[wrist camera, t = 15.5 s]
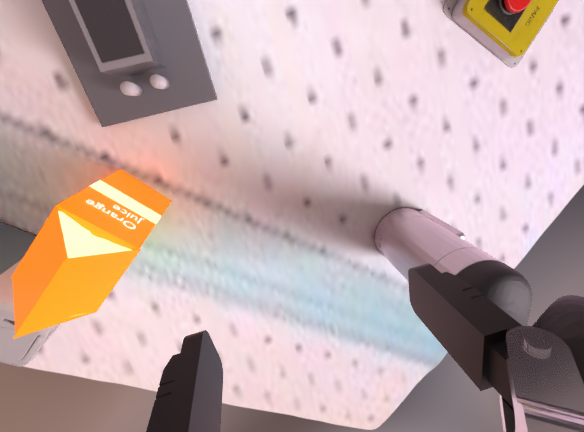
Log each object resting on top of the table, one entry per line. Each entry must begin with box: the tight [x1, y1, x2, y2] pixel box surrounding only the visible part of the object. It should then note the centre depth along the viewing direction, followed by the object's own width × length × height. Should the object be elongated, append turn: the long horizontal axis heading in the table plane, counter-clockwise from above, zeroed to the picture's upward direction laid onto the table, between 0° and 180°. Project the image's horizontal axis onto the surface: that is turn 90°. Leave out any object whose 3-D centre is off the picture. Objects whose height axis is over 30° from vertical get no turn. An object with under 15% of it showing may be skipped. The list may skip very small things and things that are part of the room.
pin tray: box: [42, 0, 217, 127], centre depth 30 cm, size 14×18×4 cm
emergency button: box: [443, 0, 559, 68], centre depth 37 cm, size 9×4×15 cm
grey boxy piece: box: [69, 0, 167, 77], centre depth 28 cm, size 5×9×6 cm, turn 13°
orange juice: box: [11, 169, 171, 339], centre depth 31 cm, size 8×9×20 cm
